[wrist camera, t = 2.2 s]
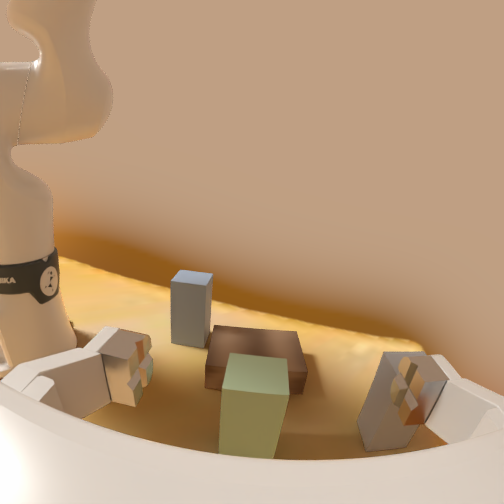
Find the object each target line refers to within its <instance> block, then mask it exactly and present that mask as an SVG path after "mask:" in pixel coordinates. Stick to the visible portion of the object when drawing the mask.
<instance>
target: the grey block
mask: <svg viewBox="0 0 504 504" xmlns="http://www.w3.org/2000/svg"><path fill="white" fill-rule="evenodd" d="M413 356H427V355H426V354H425V352H383V355H382V358H381V361H380V364H379V367H378V369H377V372H376V375H375V378H374V380H373V383H372V385H371V388H370V391H369V393H368V396H367V398H366V400H365V403H364V405H363V408H362V410H361V412H360V415H359V417H358V419H357V424H358V427H359V431H360V434H361V437H362V441H363V444H364V448H365V451H366V452H369V451H380V450H389V449H397V448H404V447H406V446H407V445H408V443H409V441H410V440H411V438H412V436H413V435H414V433H415V431H416V430H417V428H418V426H419V425H420V424H418V425H408V426H403V424H402V421H401V419H400V417H399V415H398V410H399V408H398V407H397V406H395V405H394V404H393V402H392V400H391V395H390V392H391V385H392V382H393V379H394V378H395V377H396V376H397V375H398V374H399V373H400V372H399V369H398V366H399V363H400V361H401V360H402V358H403V357H413Z"/></svg>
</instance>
